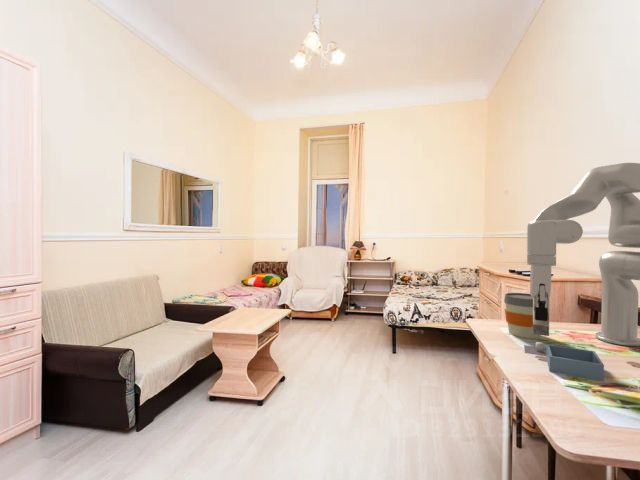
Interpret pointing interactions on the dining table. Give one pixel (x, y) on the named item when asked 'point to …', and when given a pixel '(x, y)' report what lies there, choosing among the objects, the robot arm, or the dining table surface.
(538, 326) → the strut
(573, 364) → the bin
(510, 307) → the reusable coffee cup
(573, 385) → the dining table surface
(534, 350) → the stud plate
